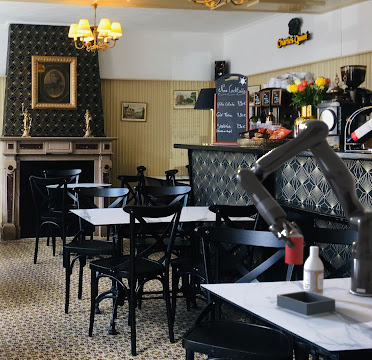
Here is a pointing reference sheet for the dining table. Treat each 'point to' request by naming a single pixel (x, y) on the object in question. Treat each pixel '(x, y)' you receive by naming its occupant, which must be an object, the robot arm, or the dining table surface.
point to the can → (294, 250)
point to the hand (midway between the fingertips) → (298, 246)
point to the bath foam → (313, 273)
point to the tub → (306, 303)
